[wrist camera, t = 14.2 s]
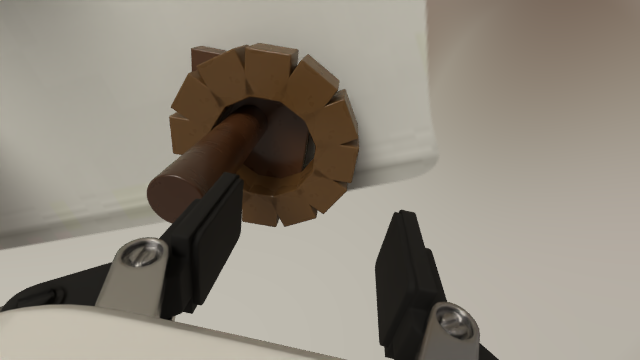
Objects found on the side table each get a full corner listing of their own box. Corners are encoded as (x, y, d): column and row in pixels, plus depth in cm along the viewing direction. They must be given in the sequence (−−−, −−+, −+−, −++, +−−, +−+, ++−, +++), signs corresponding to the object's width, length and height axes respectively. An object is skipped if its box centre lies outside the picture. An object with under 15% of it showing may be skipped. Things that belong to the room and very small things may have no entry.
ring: (195, 192, 24) (178, 211, 22) (183, 30, 18) (159, 32, 16) (340, 216, 24) (339, 238, 21) (374, 61, 18) (377, 68, 16)
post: (203, 154, 24) (95, 256, 14) (201, 45, 20) (48, 77, 10) (302, 174, 24) (267, 290, 14) (320, 69, 20) (288, 126, 10)
